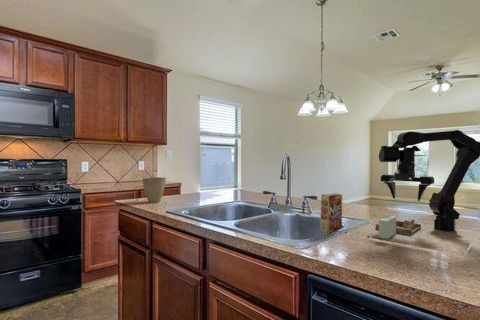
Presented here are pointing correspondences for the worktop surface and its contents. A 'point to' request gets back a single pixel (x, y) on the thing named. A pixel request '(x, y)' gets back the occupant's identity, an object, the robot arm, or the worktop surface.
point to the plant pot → (154, 188)
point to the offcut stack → (409, 224)
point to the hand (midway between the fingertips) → (406, 199)
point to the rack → (402, 230)
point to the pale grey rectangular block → (387, 226)
